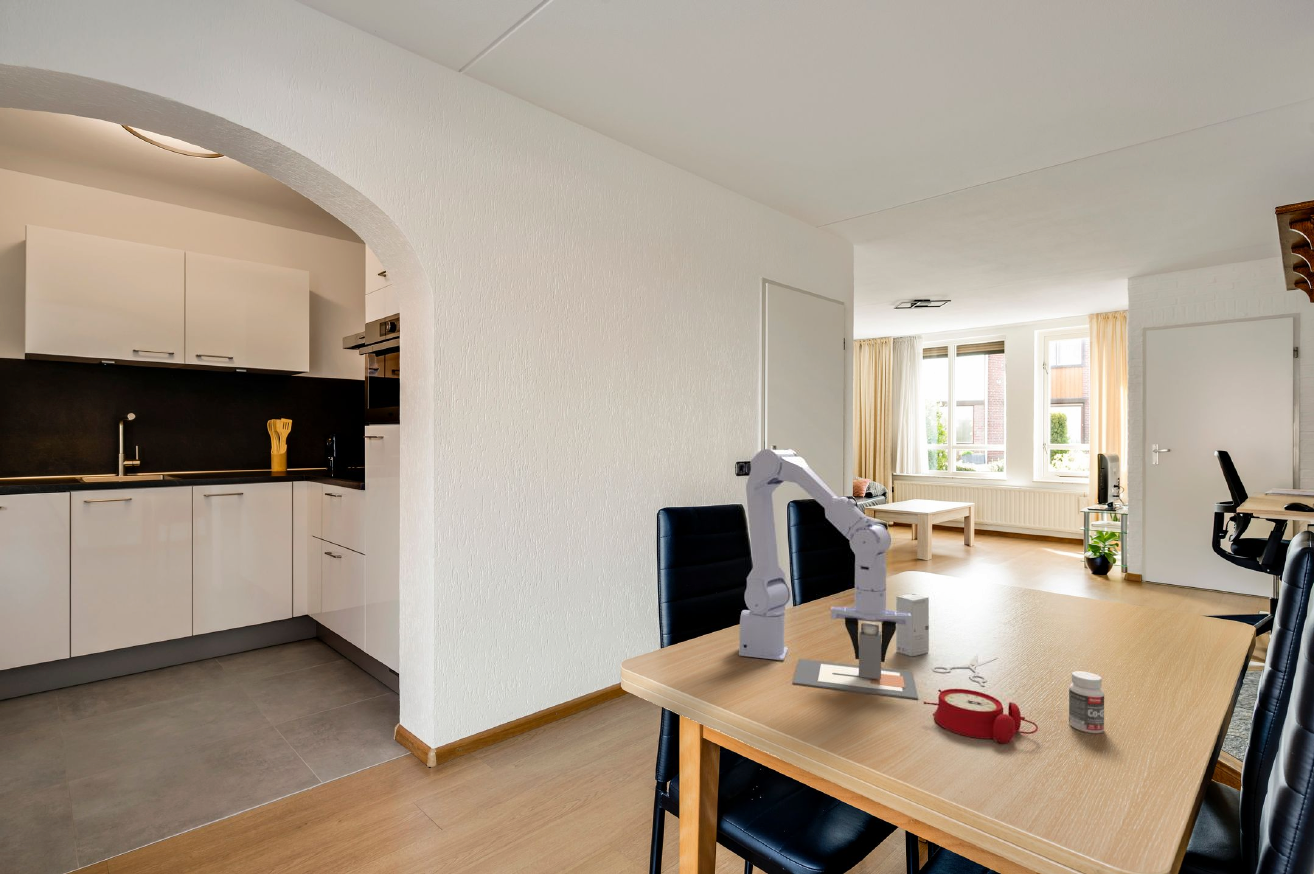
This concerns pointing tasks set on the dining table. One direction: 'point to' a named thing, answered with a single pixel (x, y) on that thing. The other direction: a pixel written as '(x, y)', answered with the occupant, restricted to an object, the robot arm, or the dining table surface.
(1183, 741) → the dining table surface
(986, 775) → the dining table surface
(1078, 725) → the pill bottle
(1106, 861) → the dining table surface
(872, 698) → the dining table surface
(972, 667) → the scissors
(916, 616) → the skincare box
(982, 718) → the alarm clock
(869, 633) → the grey post with dome
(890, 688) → the mat
